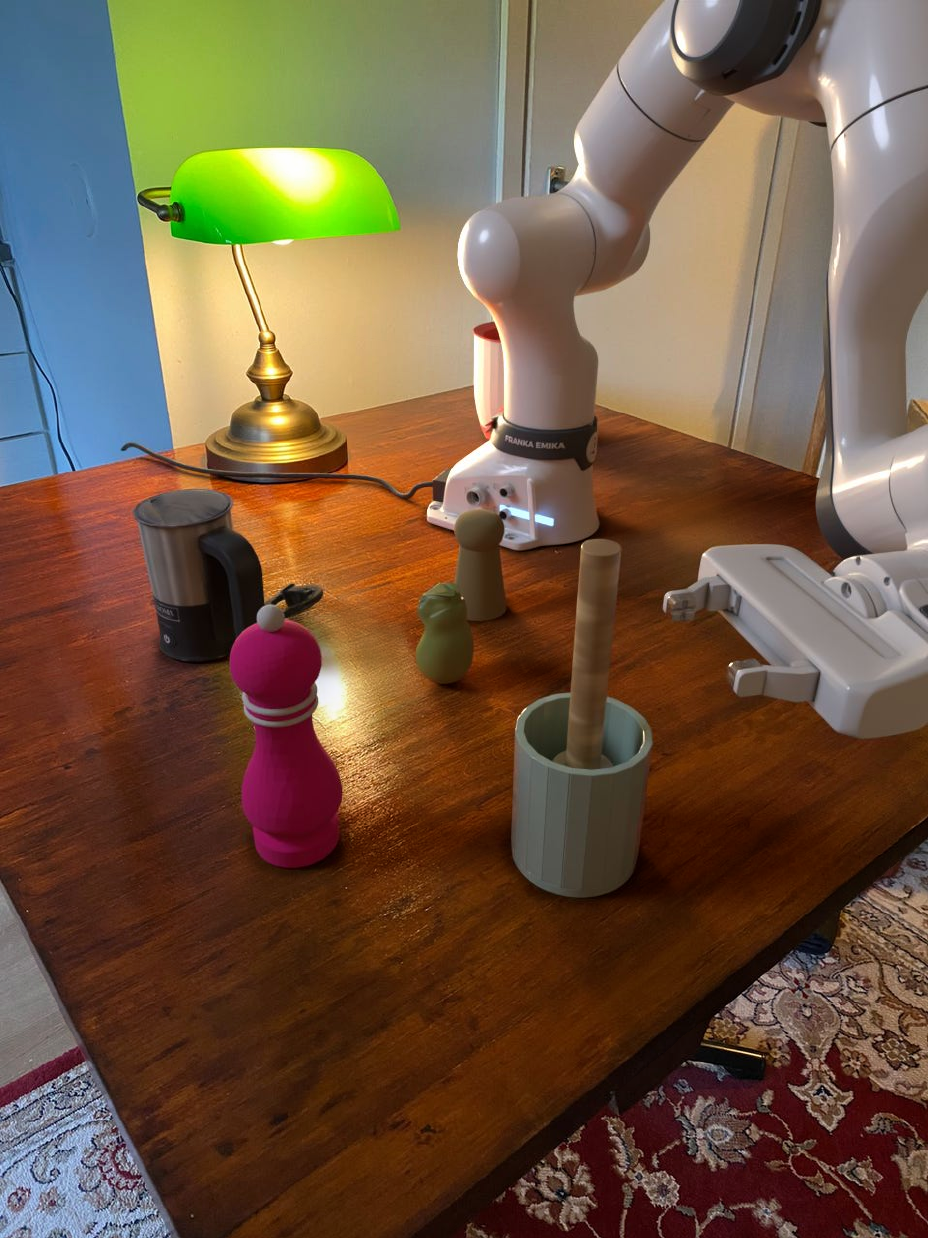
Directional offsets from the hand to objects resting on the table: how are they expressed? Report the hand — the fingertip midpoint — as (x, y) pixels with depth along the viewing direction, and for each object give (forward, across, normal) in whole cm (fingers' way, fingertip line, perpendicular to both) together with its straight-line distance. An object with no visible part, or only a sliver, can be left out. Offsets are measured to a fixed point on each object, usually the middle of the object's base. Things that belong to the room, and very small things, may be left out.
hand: (697, 641), depth 60 cm
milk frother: (+30, -38, +17) cm, 52 cm away
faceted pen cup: (+8, 0, +17) cm, 19 cm away
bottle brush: (+7, 0, +16) cm, 18 cm away
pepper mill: (+27, -6, +17) cm, 33 cm away
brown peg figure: (+5, -37, +17) cm, 41 cm away
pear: (+12, -24, +17) cm, 32 cm away
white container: (-16, -91, +17) cm, 94 cm away
